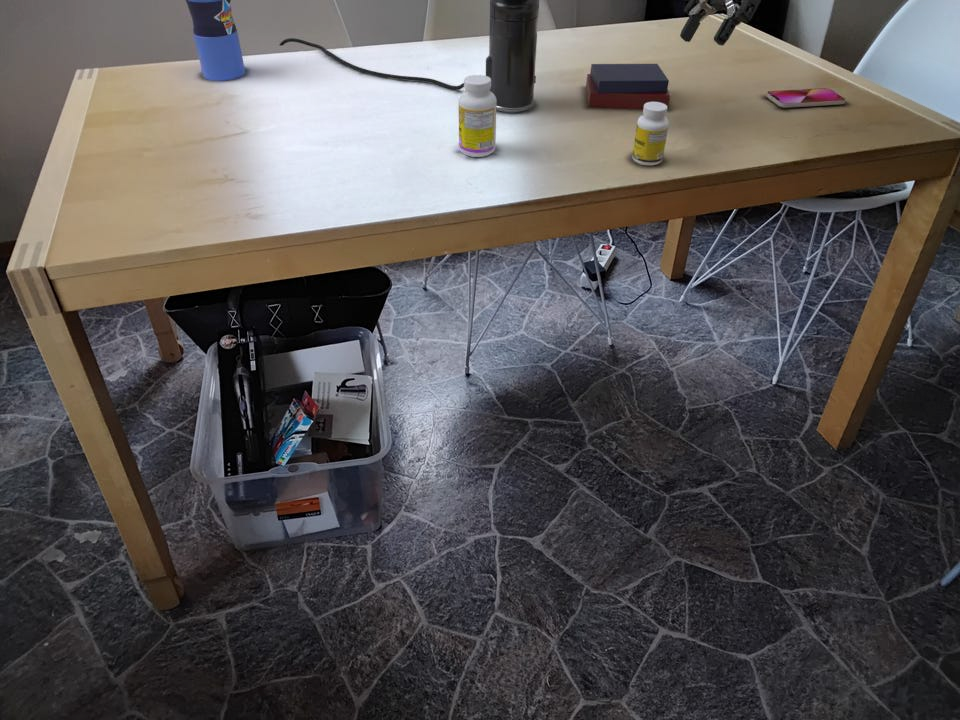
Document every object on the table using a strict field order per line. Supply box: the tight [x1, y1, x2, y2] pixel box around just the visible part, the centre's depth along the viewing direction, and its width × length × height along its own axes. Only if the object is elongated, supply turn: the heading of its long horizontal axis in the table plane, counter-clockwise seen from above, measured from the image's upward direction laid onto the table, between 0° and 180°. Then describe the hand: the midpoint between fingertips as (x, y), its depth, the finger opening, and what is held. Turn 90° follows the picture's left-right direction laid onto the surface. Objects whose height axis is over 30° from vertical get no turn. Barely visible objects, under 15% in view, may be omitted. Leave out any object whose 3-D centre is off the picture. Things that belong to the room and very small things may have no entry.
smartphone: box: [765, 87, 847, 109], centre depth 152 cm, size 7×1×15 cm
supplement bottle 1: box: [458, 74, 497, 158], centre depth 128 cm, size 7×7×13 cm
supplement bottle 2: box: [631, 102, 670, 166], centre depth 127 cm, size 5×5×10 cm
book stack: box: [585, 63, 671, 111], centre depth 150 cm, size 16×11×6 cm
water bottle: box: [185, 0, 246, 82], centre depth 152 cm, size 9×9×25 cm
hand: (700, 41), depth 125 cm, fingers open, 8 cm apart
